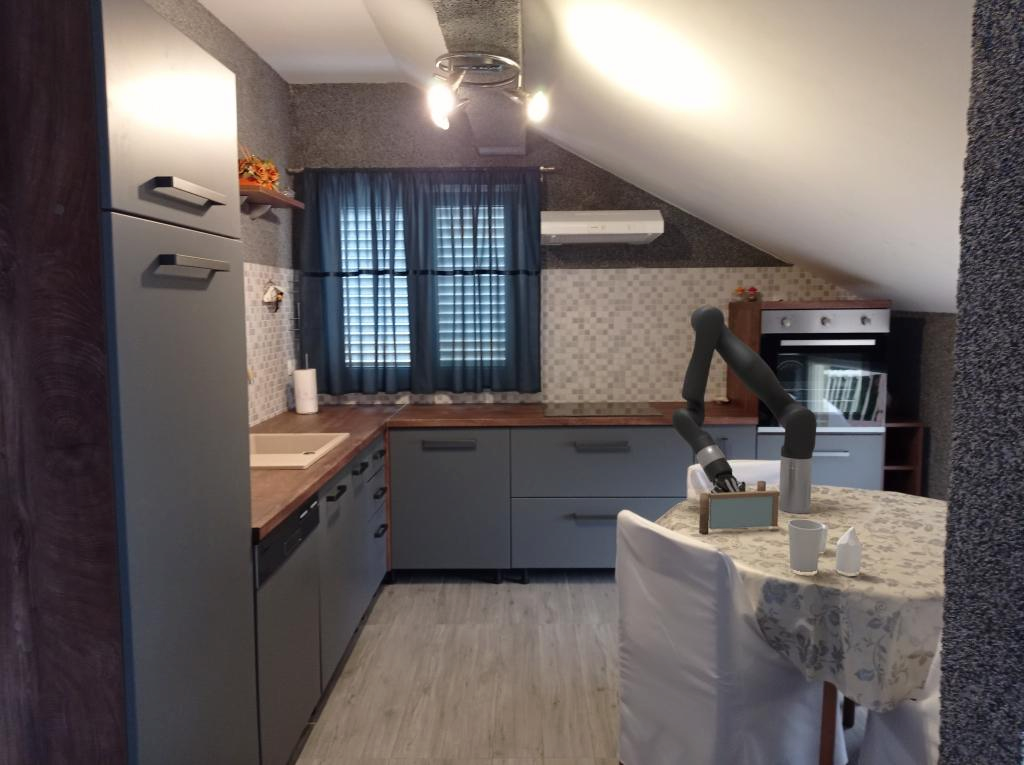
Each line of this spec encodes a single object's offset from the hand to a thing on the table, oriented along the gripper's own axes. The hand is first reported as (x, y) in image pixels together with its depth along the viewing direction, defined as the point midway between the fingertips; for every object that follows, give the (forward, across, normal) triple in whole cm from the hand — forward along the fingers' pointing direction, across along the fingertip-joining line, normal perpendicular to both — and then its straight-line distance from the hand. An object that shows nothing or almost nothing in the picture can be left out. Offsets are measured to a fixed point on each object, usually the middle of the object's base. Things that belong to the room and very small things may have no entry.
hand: (743, 513), depth 204 cm
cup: (+24, -11, -18) cm, 32 cm away
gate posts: (+1, 0, +6) cm, 6 cm away
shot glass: (+18, +3, -12) cm, 22 cm away
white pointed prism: (+28, -3, -22) cm, 36 cm away
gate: (+3, -1, +2) cm, 4 cm away
